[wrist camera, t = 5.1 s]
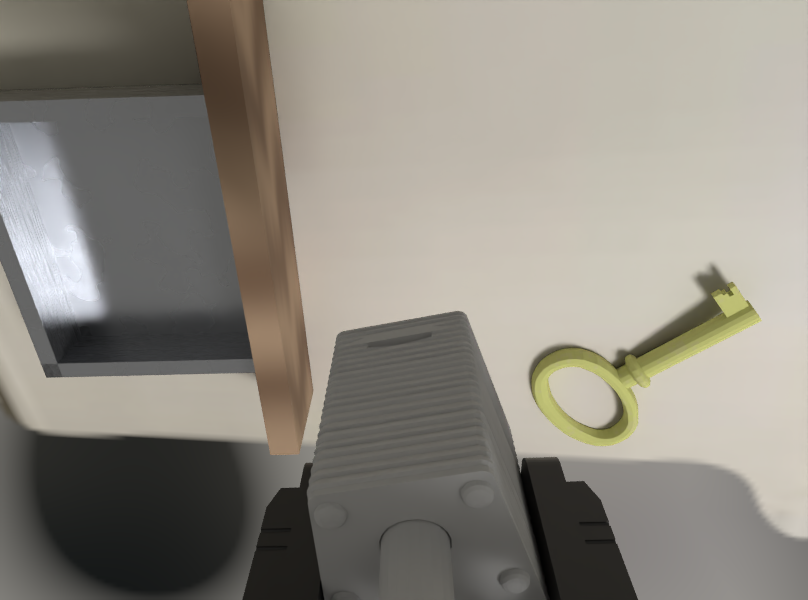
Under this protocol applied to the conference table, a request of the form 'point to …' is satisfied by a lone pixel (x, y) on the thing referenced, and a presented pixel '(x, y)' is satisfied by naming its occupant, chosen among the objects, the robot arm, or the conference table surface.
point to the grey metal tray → (119, 232)
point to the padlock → (419, 472)
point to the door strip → (256, 206)
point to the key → (637, 368)
